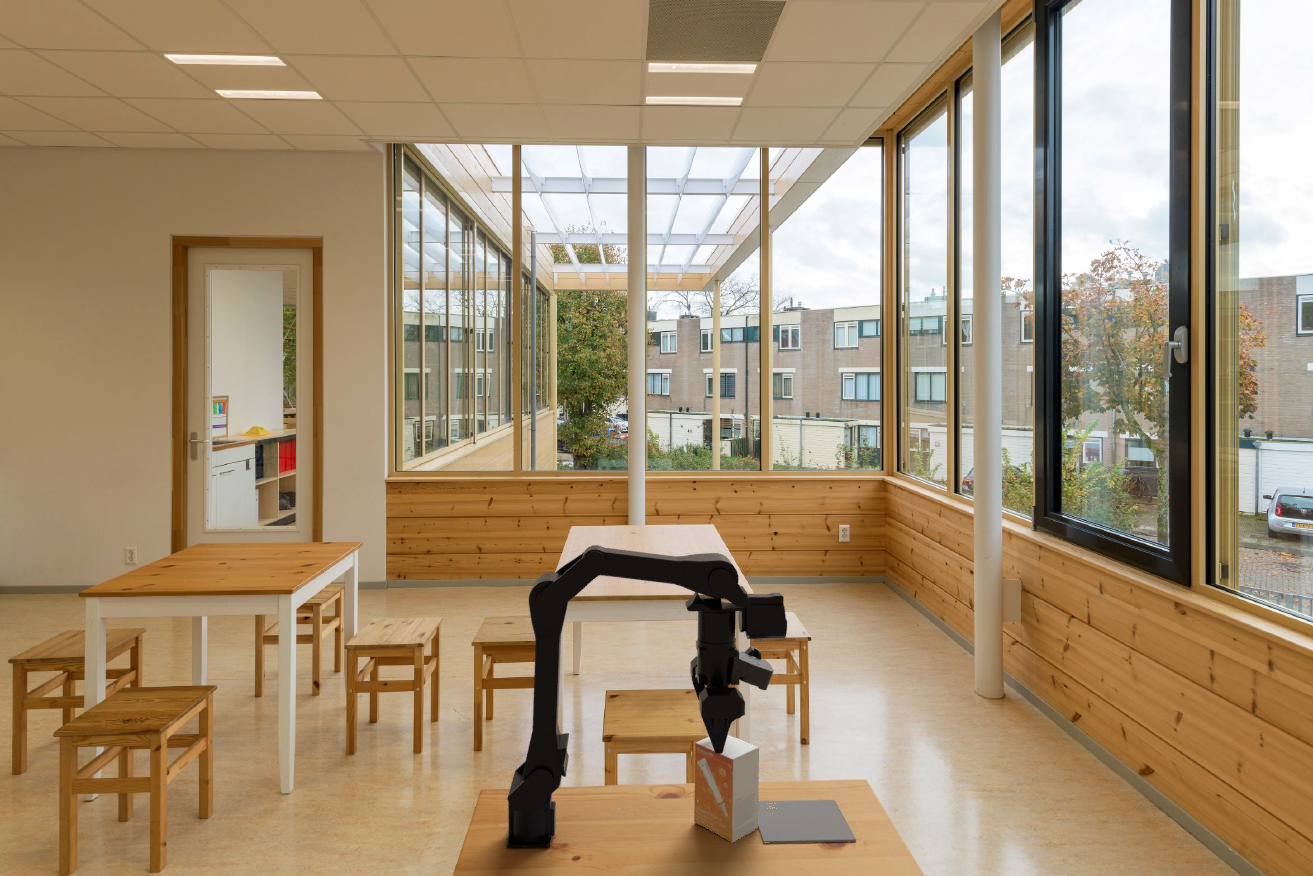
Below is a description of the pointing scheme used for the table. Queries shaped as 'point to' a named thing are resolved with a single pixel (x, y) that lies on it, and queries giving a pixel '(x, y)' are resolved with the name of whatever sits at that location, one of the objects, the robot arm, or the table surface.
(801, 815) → the mat
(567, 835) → the table surface
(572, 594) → the robot arm
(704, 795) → the small box
